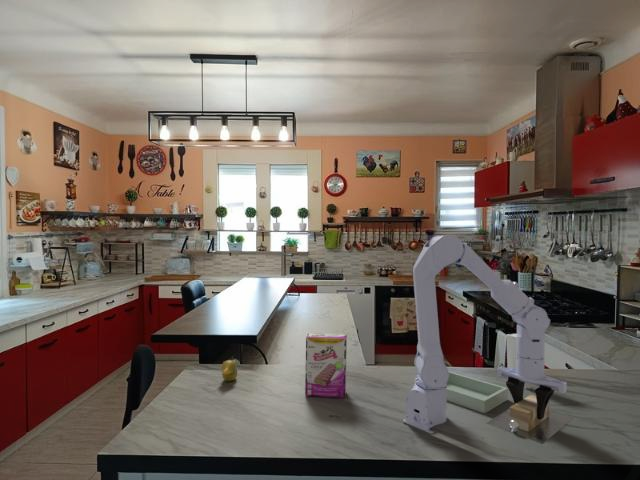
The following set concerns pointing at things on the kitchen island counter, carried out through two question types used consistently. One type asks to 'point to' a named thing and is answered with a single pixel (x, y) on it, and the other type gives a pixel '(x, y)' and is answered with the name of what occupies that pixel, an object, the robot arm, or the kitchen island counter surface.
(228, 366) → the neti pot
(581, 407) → the kitchen island counter surface
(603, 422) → the kitchen island counter surface
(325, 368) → the candy bar box
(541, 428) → the mount
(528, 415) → the tan long block
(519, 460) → the kitchen island counter surface
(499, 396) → the bin
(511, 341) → the skincare box
